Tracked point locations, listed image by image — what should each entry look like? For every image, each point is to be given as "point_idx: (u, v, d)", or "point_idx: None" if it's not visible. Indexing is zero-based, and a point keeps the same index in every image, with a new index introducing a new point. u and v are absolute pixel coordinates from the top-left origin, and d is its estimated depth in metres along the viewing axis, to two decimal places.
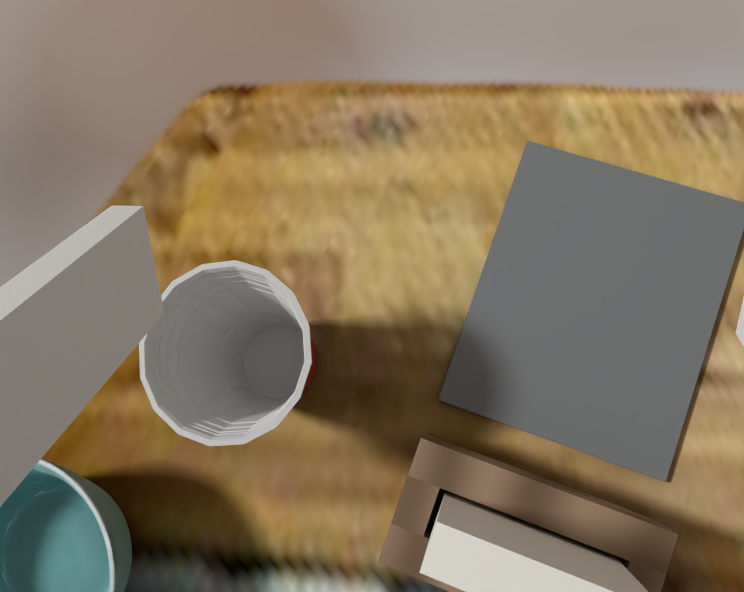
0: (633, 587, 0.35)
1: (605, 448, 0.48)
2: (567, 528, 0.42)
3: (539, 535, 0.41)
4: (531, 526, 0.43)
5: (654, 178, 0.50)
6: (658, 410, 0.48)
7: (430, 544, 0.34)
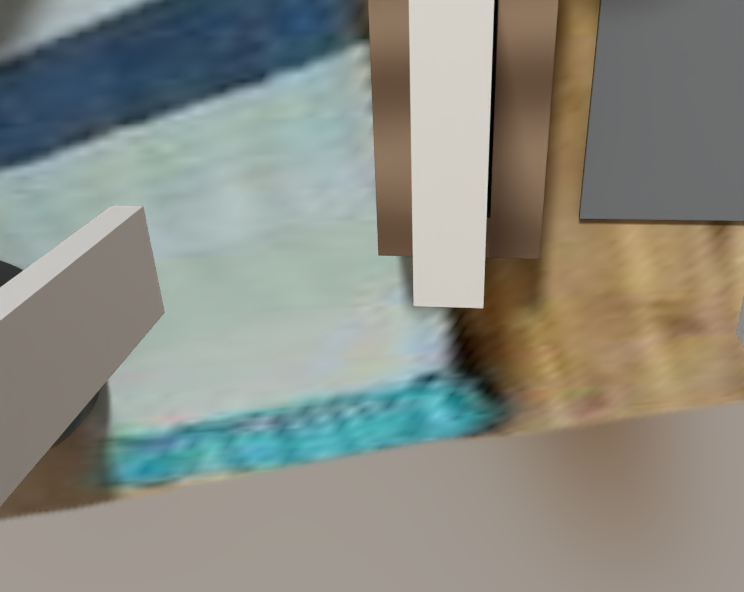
0: None
1: (601, 143, 0.37)
2: (503, 138, 0.32)
3: None
4: None
5: None
6: (666, 188, 0.38)
7: None
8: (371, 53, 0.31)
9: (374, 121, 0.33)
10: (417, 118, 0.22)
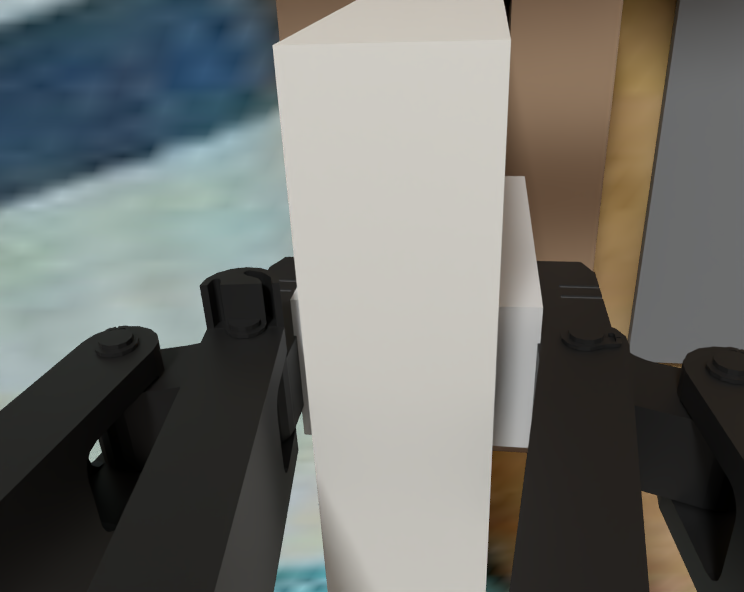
0: None
1: (665, 257, 0.24)
2: None
3: None
4: None
5: None
6: None
7: (404, 49, 0.07)
8: None
9: None
10: (323, 377, 0.09)
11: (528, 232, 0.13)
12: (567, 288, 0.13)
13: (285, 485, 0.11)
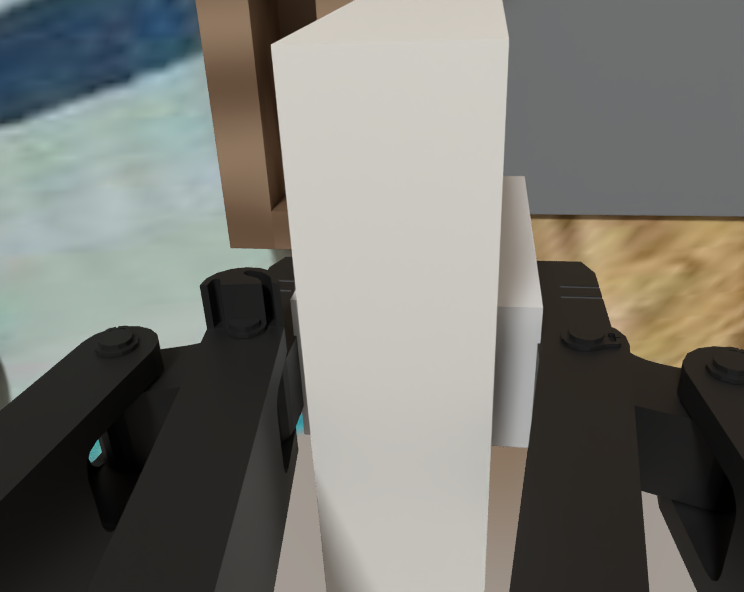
0: None
1: None
2: None
3: None
4: None
5: None
6: None
7: (402, 48, 0.07)
8: (204, 55, 0.33)
9: (213, 120, 0.34)
10: (321, 376, 0.09)
11: (528, 232, 0.13)
12: (567, 288, 0.13)
13: (285, 485, 0.11)
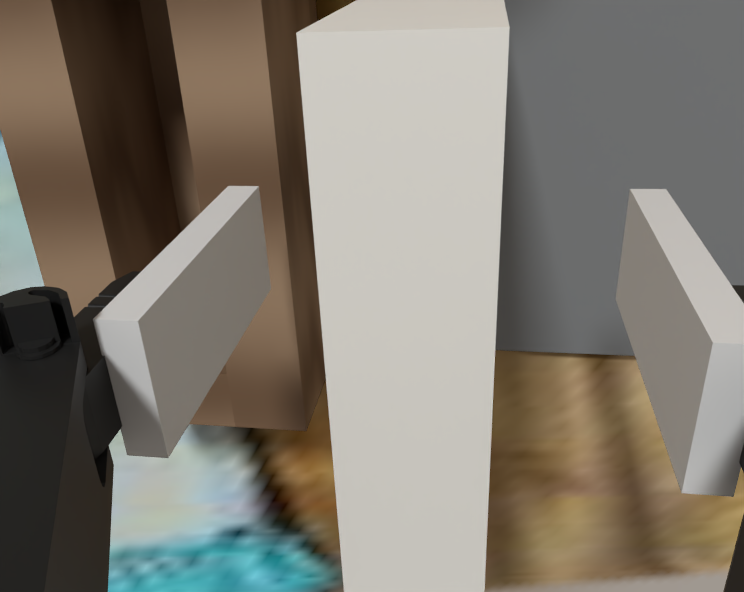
0: None
1: None
2: None
3: None
4: None
5: None
6: (516, 310, 0.26)
7: (413, 36, 0.08)
8: (4, 137, 0.20)
9: (32, 235, 0.21)
10: (337, 339, 0.10)
11: (705, 254, 0.12)
12: None
13: (104, 499, 0.10)
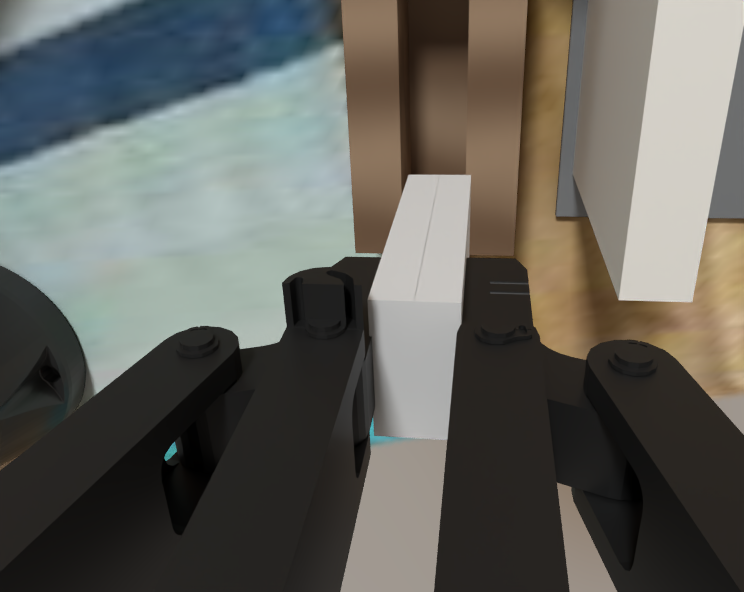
0: None
1: None
2: (476, 137, 0.33)
3: None
4: None
5: None
6: None
7: None
8: (345, 53, 0.32)
9: (349, 120, 0.33)
10: (651, 109, 0.22)
11: (463, 229, 0.14)
12: (497, 284, 0.13)
13: (355, 491, 0.10)
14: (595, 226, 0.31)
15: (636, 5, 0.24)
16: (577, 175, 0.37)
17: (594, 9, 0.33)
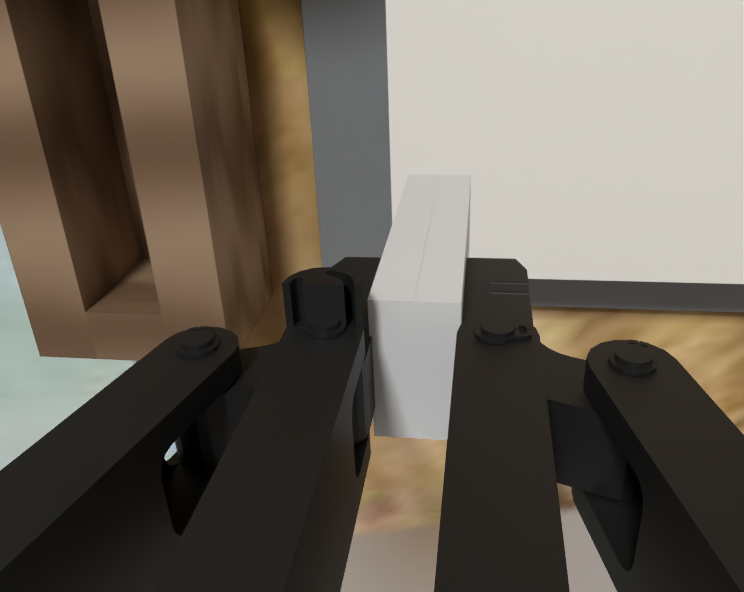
0: None
1: (335, 210, 0.30)
2: (154, 218, 0.25)
3: None
4: None
5: None
6: None
7: None
8: None
9: None
10: None
11: (462, 229, 0.14)
12: (497, 284, 0.13)
13: (355, 490, 0.10)
14: (625, 272, 0.26)
15: None
16: None
17: (456, 47, 0.24)
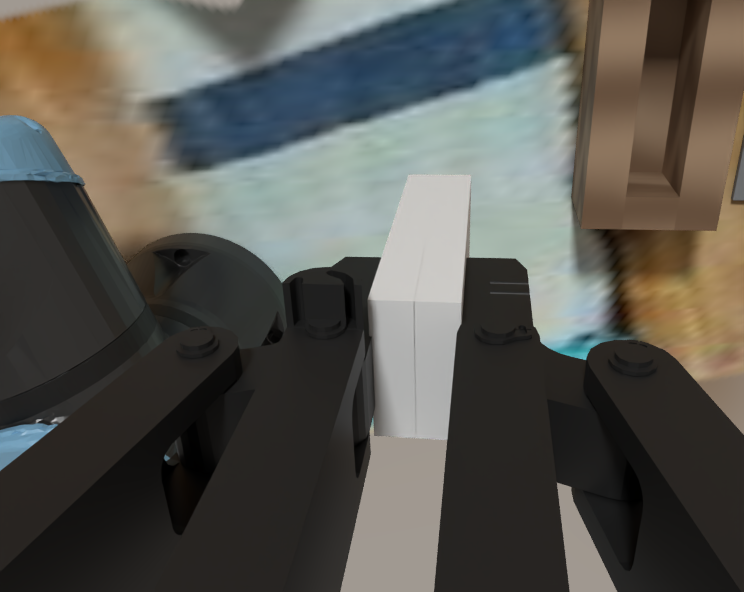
0: None
1: None
2: (698, 133, 0.41)
3: None
4: None
5: None
6: None
7: None
8: (598, 66, 0.40)
9: (593, 119, 0.41)
10: None
11: (462, 229, 0.14)
12: (497, 284, 0.13)
13: (355, 491, 0.10)
14: None
15: None
16: None
17: None
